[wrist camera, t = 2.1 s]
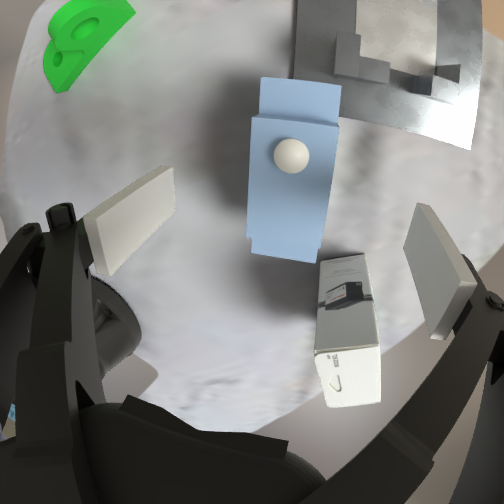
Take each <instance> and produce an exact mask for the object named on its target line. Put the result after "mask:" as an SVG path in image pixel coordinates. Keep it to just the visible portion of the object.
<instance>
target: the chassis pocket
mask: <svg viewBox="0 0 504 504" xmlns="http://www.w3.org/2000/svg"><path fill="white" fill-rule="evenodd" d="M481 63H482V5H481V0H298V8H297V27H296V44H295V59H294V74H293V79H295V80H304V81H313V82H321V83H328V84H334V85H341V86H342V87H341V97H340V107H339V117H345V118H350V119H356V120H361V121H366V122H371V123H376V124H380V125H385V126H389V127H394V128H398V129H402V130H406V131H410V132H414V133H417V134H421V135H425V136H428V137H432V138H435V139H438V140H442V141H445V142H448V143H451V144H454V145H457V146H460V147H463V148H466V149H469V150H470V146H471V141H472V136H473V130H474V124H475V118H476V112H477V105H478V97H479V88H480V77H481Z"/></svg>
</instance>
